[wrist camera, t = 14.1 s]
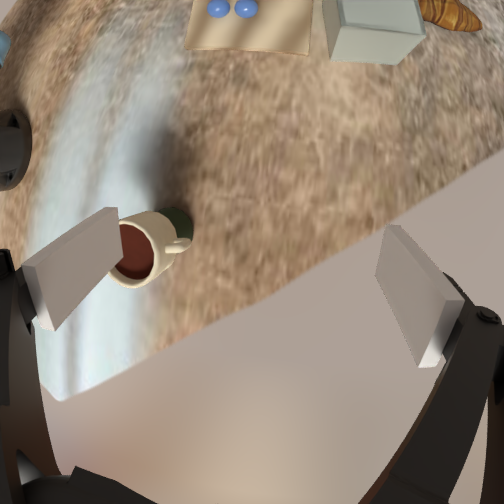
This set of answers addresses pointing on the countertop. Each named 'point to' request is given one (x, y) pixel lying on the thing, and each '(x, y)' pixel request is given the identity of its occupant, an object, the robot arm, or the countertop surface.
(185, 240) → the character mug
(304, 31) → the board
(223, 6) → the blue marble
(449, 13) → the croissant
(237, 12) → the blue marble
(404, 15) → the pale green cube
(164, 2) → the countertop surface
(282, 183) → the countertop surface
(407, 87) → the countertop surface
